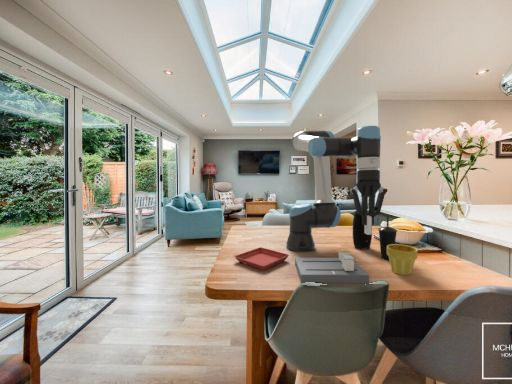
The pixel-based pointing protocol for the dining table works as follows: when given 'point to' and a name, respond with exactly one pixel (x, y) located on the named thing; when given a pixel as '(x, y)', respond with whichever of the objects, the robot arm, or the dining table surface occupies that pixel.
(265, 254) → the plant saucer
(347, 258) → the fader front
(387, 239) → the black bottle
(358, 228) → the portable speaker
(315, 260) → the fader board
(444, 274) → the dining table surface
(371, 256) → the dining table surface
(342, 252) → the block
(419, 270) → the dining table surface
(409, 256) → the plant pot
